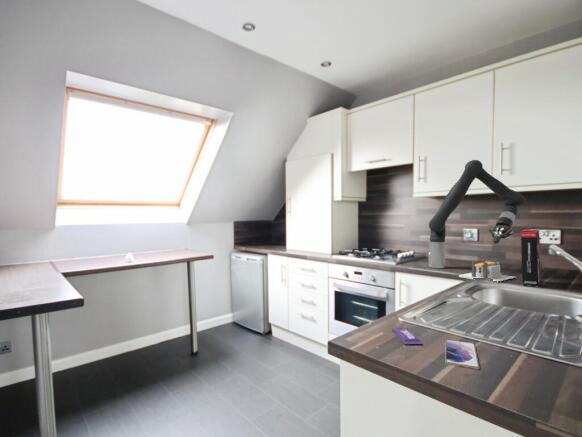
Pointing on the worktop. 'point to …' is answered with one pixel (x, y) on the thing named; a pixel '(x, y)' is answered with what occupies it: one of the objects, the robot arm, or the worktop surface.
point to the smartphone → (461, 354)
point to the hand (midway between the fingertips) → (495, 242)
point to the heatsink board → (486, 272)
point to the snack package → (407, 336)
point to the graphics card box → (530, 257)
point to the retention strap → (487, 264)
